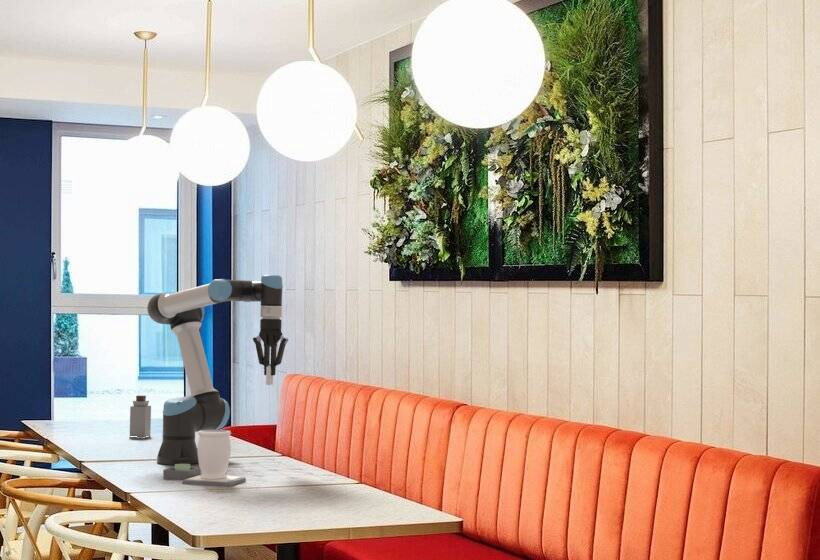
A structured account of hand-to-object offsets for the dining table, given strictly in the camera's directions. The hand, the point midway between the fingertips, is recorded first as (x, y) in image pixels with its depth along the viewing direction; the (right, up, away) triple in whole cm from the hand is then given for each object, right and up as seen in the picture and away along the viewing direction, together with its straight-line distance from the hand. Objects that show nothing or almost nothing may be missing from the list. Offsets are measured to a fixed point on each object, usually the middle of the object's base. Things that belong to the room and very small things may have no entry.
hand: (269, 384), depth 397 cm
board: (-13, -28, -38) cm, 49 cm away
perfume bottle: (-67, -31, +87) cm, 114 cm away
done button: (-25, -27, -29) cm, 47 cm away
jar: (-13, -27, -38) cm, 48 cm away
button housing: (-25, -28, -29) cm, 48 cm away
